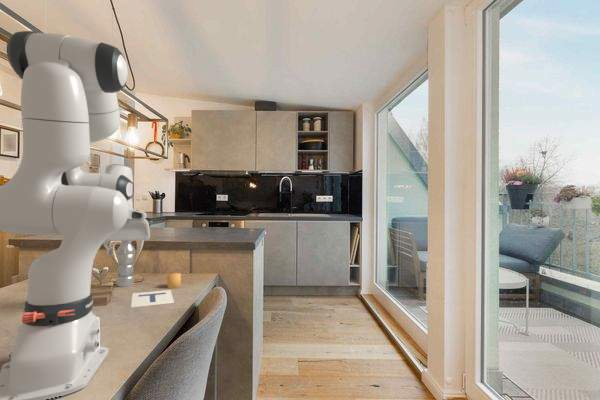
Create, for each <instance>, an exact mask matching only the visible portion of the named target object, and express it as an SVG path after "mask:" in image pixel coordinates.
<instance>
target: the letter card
mask: <svg viewBox="0 0 600 400" xmlns="http://www.w3.org/2000/svg"><path fill="white" fill-rule="evenodd" d="M174 303H175V301H174V296H173V293H172V290H171V289H166V290H155V291H145V292H132V296H131V304H130V308H140V307H149V306H156V305H164V304H165V305H166V304H174Z"/></svg>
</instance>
